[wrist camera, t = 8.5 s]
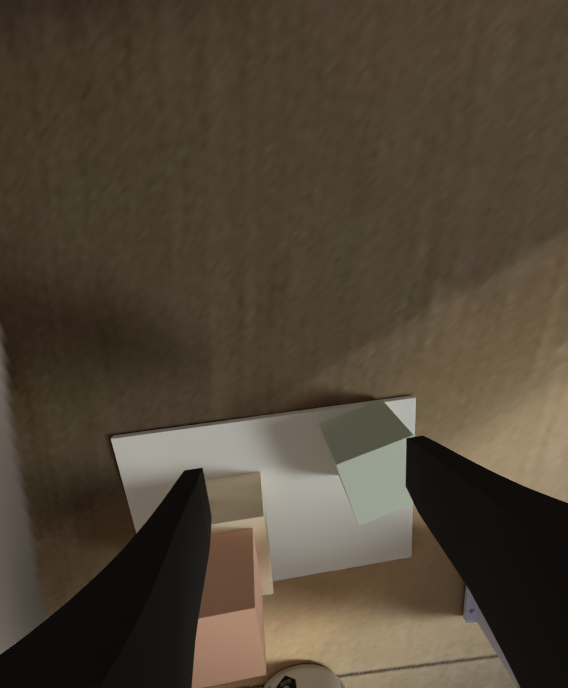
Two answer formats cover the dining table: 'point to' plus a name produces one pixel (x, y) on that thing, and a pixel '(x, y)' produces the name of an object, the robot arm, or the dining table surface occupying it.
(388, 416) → the sage block
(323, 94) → the dining table surface
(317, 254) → the dining table surface
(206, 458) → the mat
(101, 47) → the dining table surface
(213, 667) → the terracotta block
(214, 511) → the birch base block
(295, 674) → the supplement can
